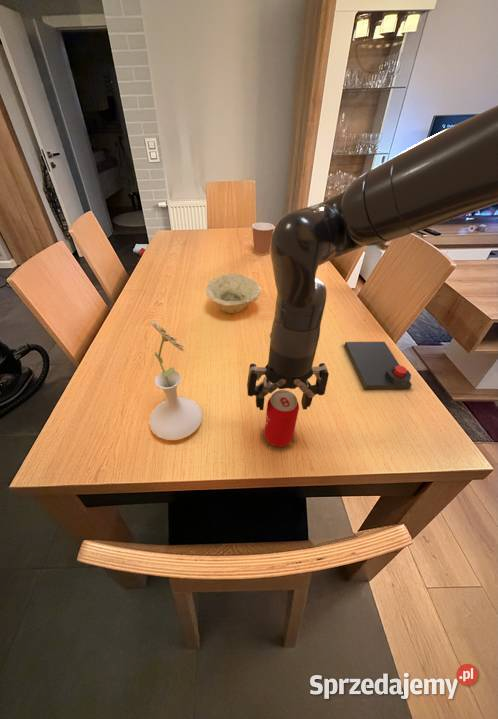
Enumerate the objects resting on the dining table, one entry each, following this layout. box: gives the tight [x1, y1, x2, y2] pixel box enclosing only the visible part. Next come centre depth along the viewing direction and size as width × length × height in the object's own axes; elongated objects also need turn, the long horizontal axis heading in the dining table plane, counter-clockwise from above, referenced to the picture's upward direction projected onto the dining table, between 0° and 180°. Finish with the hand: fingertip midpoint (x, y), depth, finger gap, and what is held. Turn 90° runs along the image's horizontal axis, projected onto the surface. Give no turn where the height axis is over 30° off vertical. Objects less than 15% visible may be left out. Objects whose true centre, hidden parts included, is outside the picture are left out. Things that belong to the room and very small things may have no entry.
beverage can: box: [263, 389, 300, 448], centre depth 62 cm, size 6×6×12 cm
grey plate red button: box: [343, 341, 413, 391], centre depth 83 cm, size 18×12×4 cm, turn 3°
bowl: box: [205, 273, 261, 314], centre depth 100 cm, size 14×18×15 cm
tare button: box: [393, 365, 408, 378], centre depth 77 cm, size 3×3×2 cm
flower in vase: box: [148, 319, 203, 441], centre depth 60 cm, size 13×11×25 cm
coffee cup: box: [251, 222, 275, 256], centre depth 140 cm, size 10×10×12 cm
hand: (282, 406), depth 59 cm, fingers open, 8 cm apart
